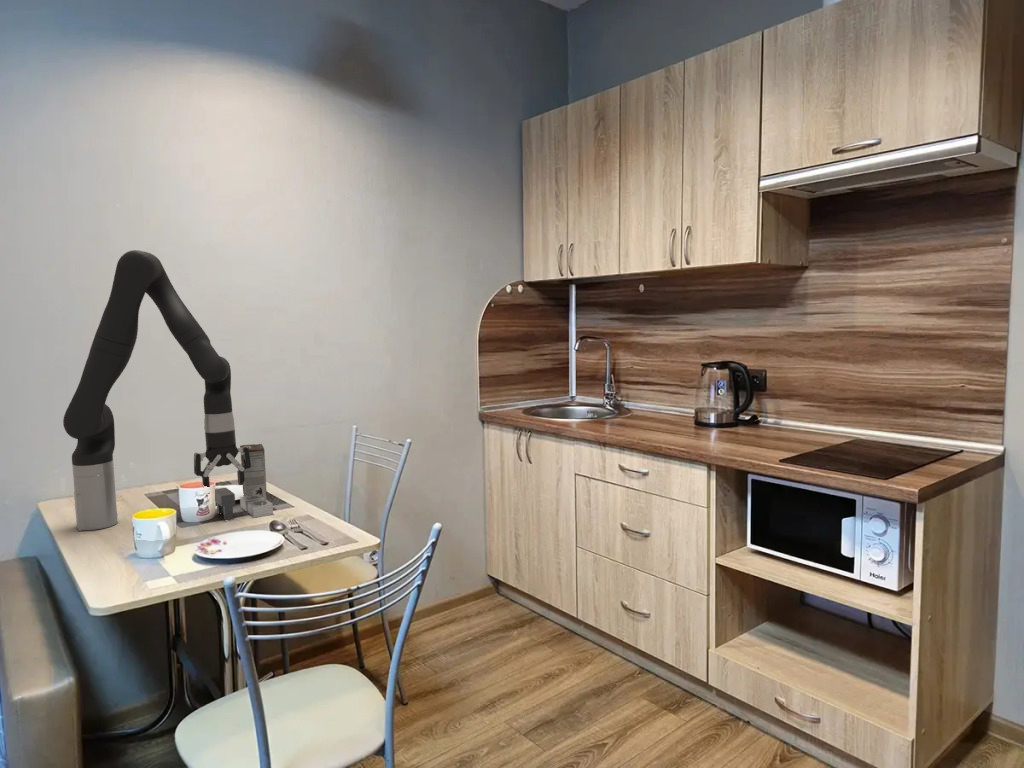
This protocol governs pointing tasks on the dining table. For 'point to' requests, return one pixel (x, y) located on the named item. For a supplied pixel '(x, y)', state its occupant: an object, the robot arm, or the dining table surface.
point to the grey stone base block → (256, 505)
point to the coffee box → (255, 472)
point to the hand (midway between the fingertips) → (224, 487)
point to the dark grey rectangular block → (225, 502)
